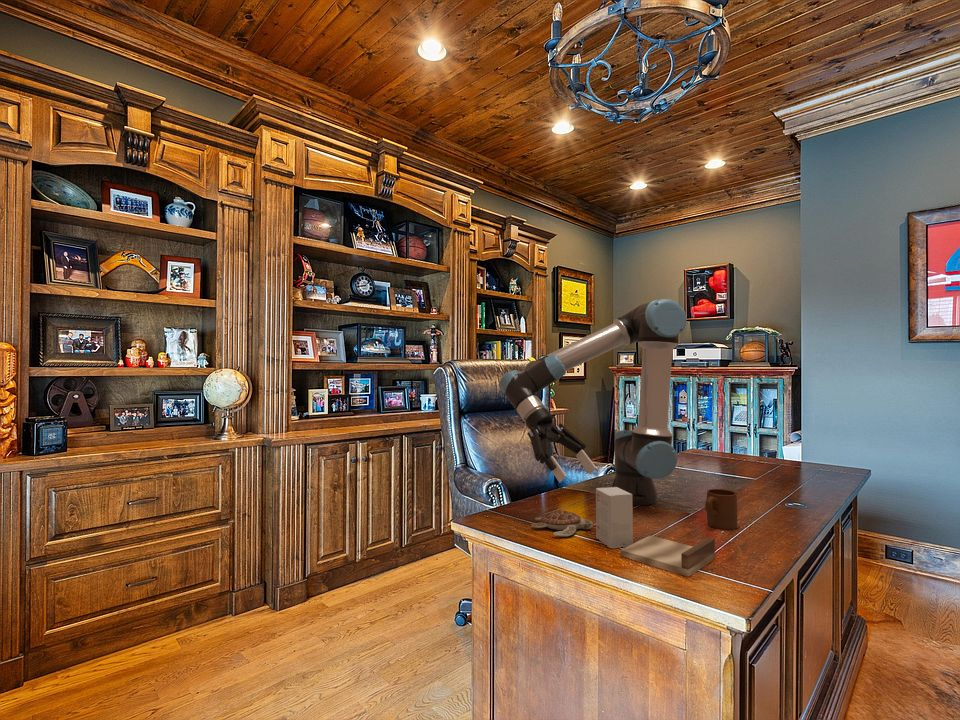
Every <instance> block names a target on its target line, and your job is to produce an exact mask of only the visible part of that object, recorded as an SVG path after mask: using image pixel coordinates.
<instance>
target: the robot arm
mask: <svg viewBox="0 0 960 720" xmlns="http://www.w3.org/2000/svg"><path fill="white" fill-rule="evenodd" d="M686 324H687V314H686V311H685V310H684V308H683V307H682V305H680V304H679V303H678V302H677V301H675V300H673V299H670V298H663V299H660V298H659V299H655V300H653V301H650V302H649V301H648V302H645V303H642V304H640V305H638V306H636V307H635V308H633V309H632V310H630V311H628V312H626V313H625V314H623V315H621V316H619V317H618V318H615V319H613V323H611V324H609V325H608V326H606V327H604V328H601V329H598V330H597V331H595V332H593V333H591V334H589V335H586V336H584V337H582V338H579V339H578V340H576V341H573V342H571V343H570V344H568V345H565V346H563V347H561V348H559V349H556V350H555V351H552V352H550V353H548V354H546V355H544V356H542V357H540V358H537V359H536V360H532V361H529V362H528V363H527V364H526V365H525V366H524V369H523V371H522V372H519V371H518V370H517V369H512V370H511V371H506V373H505V374H503V375H502V376H501V378H500V379H499V383H498V384H499V387H500V389H501V391H502V392H503V393H504V396H505V397H506V398H507V400H508V401H509V402H510V404H511V405H512V407H513V408H514V409H515V410H516V412H517V414H519V416H520V418H521V419H522V421H523V422H524V424H525V425H526V427H527V428H528V429H529V431H528V432H527V437H528V438H529V439H530V442H531V443H530V444H531V448H532V451H533V454H534V458H535V461H537V462H539V463H540V464H542V465H543V464H544V463H545V465H546V466H547V468H548V470H550V471H551V473H552V474H553V476H554V477H555V479H556V480H557V481H558V482H559V483H562V482H563V481H564V480H565V479H566V478H567V474H566V472H565V471H564V469H563V468H562V466H561V465H560V464H559V462H558V461H557V459H556V458H555V456H554V455H551V452H550V451H551V449H550V443H556V444H559V445H560V444H561V445H562V446H563V447H564V448H566V449H568V450H570V451H571V452H572V453H574V454H576V455H575V457H576V458H577V459H578V461H579V462H580V464H581V465H582V466H583V468H584V469H585V471H586V472H587V473H588V474H589V475H592V474H593V472H594V471H596V470H597V466H596V465H595V464H594V462H593V461H592V460H591V458H590V457H589V455H588V454H587V453H586V452H585V448H586V447H587V444H585V443H584V442H583V441H581V440H580V439H579V438H578V437H577V436H576V435H575V434H573V433H572V432H571V431H569V430H568V429H567V428H566V426H564V424H563V423H559V424H558V425H556V424H554V421H553V420H554V419H553V415H552V414H551V412H550V411H549V410H548V408H546V406H545V404H544V403H543V402H542V400H541V398H539V397H538V395H537V394H538V393H539V392H541V391H542V390H544V389H546V388H547V387H548V386H551V385H552V384H553V383H555V382H556V381H559V380H560V379H561V378H562V377H564V376H565V375H566V374H567V371H569V370H572V369H574V368H576V367H578V366H580V365H582V364H585V363H586V362H588V361H591V360H592V359H595V358H597V357H599V356H601V355H603V354H605V353H607V352H610V351H612V350H614V349H616V348H618V347H620V346H622V345H624V346H630V345H631V344H634V343H638V345H639V346H640V347H641V348H642V357H641V370H640V387H639V388H640V389H639V404H638V418H637V419H638V420H637V426H636V427H634V428H633V429H629V430H617V431H616V432H615V434H614V468H615V470H614V471H615V475H614V478H613V481H612V484H611V487H618V488H620V489H622V490H624V491H626V492H628V493H631V494H632V502H633V506H647V505H654V504H656V503H657V502H658V500H659V499H658V492H657V488H656V486H655V483H654V480H662V479H664V478H665V479H666V478H667V477H669V475H671V474H672V473H673V472H674V471H675V469H676V467H677V464H678V453H677V451H676V450H675V448H674V446H673V444H672V443H673V434H672V433H671V431H670V430H669V429H668V424H669V423H668V422H669V421H668V420H669V407H670V406H669V405H670V392H671V378H672V377H671V376H672V364H673V360H672V359H673V351H674V349H676V347H678V346H679V339H680V337H679V335H680V334H681V333H682V332H683V331H684V330H685V328H686Z"/></svg>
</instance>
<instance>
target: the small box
mask: <svg viewBox="0 0 960 720" xmlns="http://www.w3.org/2000/svg"><path fill="white" fill-rule="evenodd" d="M633 506H634V505H633V502H632V494H631V493H628V492H626V491H624V490H622V489H620V488H618V487H612V486H611V487H610V486H609V487H596V488H595V516H596V517H595V538H596V539H597V540H598V539H599V541H600V542H601V543H602V542H603V543H602V544H603V545H605V546H606V545H607V548H609V549H610V548H613V549H622V548H621V547H623V548H626V547H628V546H630V545H632V544H634V517H633V516H634V512H633V511H634V510H633V509H634V507H633Z"/></svg>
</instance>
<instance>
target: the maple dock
mask: <svg viewBox="0 0 960 720" xmlns="http://www.w3.org/2000/svg"><path fill="white" fill-rule="evenodd" d="M715 541H716V539H715V538H711V537H707V538H705V539H703V540H701V541H700V542H698V543H697V544H695V545H693V546H692V545H688V544H684V543H680V542H676V541H673V540H669V539H664V538H662V537H657V536H653V535H648V536H646V537H644V538H642V539H640V540H638V541H636V542H633V544H632V545H630V546H628V547H623V548H621V549H620V557H621V556H623V557H622V558H625V557H627V558H626V559H628V558H629V559H628V560H631V559H632V561H635V560H636V561H635V562H638V561H639V563H641V562H642V563H641V564H644V563H645V564H644V565H648V564H649V565H648V566H651V567H654V566H655V567H654V568H657V569H660V570H661V569H662V570H664V571H667V572H671V573H674V574H676V575H677V574H678V575H682V576H684V577H687V578H688V577H690V576H692V575H694V574H695V573H697V572H698V571H700V569H701V570H702V568H704V567H706V566H707V565H709V563H711V562H713V560H716V542H715ZM693 573H694V574H693Z"/></svg>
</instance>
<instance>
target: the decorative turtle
mask: <svg viewBox="0 0 960 720" xmlns="http://www.w3.org/2000/svg"><path fill="white" fill-rule="evenodd" d="M534 519H535V520H534V521H540V522H534V523H531V527H532V528H536V529H542V528H546V527H547V528H549V529H551V530H555V529H556V531H555V532H553V533H552V534H553V536H555V537H569V536H572V535H574V534H575V533H576V531H577V530H592V528H594V523H593V521H592V520H590V519H588V518H587V519H586V518H582V517H581V516H580V515H578V514H576V513H574V512H573V511H572V512H571V511H567V510H557V511H553V512H550V513H548V514H546V515H544V516H537V517H535V518H534ZM561 530H563V531H561Z"/></svg>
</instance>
